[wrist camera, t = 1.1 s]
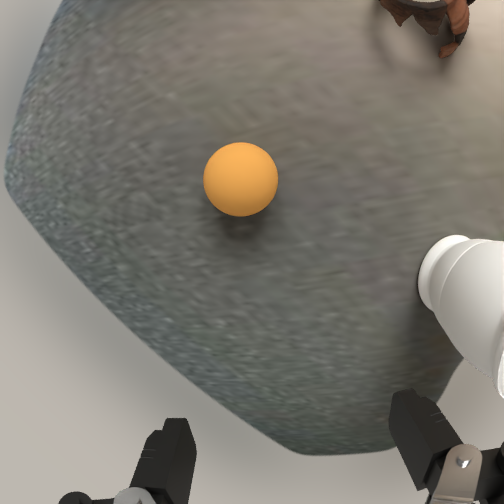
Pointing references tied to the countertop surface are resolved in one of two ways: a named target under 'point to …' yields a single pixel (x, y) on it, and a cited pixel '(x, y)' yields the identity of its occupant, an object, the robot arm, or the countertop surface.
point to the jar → (468, 299)
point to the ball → (240, 179)
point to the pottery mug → (433, 17)
